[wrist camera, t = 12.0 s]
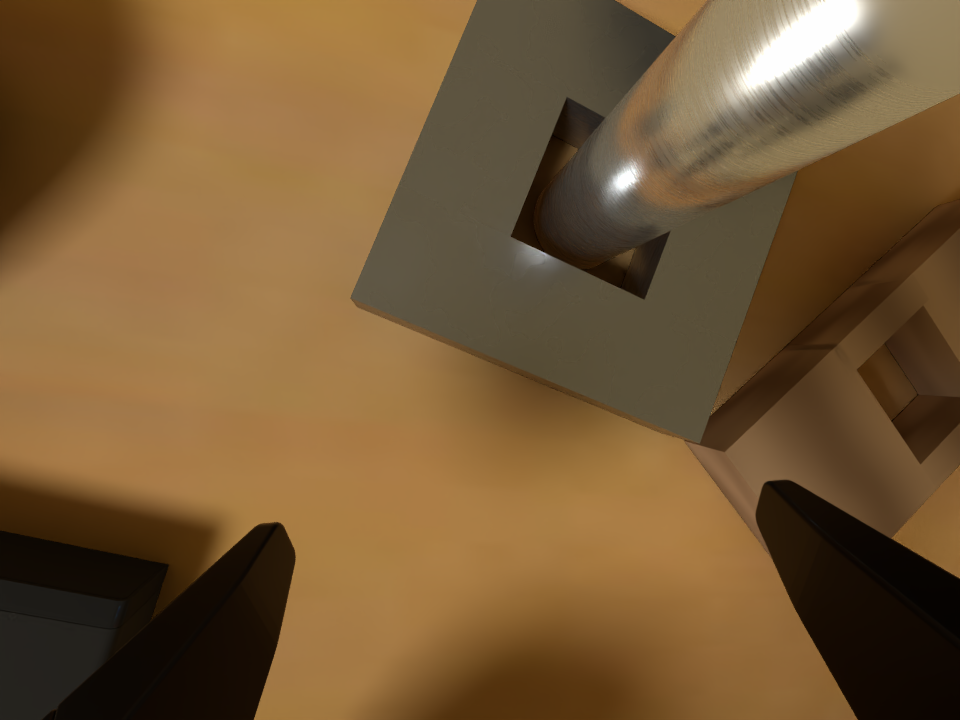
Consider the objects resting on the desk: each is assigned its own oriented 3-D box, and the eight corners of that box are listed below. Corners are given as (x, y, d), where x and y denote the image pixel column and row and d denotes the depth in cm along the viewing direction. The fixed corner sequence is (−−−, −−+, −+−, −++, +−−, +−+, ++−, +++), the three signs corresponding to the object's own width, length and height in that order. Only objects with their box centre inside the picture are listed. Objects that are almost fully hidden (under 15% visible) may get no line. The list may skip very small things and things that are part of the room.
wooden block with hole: (782, 572, 21) (833, 600, 19) (684, 441, 20) (724, 452, 18) (1014, 331, 24) (1086, 328, 21) (937, 205, 23) (1002, 187, 20)
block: (662, 433, 20) (699, 444, 17) (356, 306, 18) (350, 297, 15) (766, 148, 21) (816, 120, 18) (490, -9, 19) (505, -65, 16)
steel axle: (627, 265, 20) (1061, 85, 7) (539, 272, 19) (839, 88, 6) (617, 172, 20) (1035, -185, 7) (528, 176, 19) (809, -216, 6)
